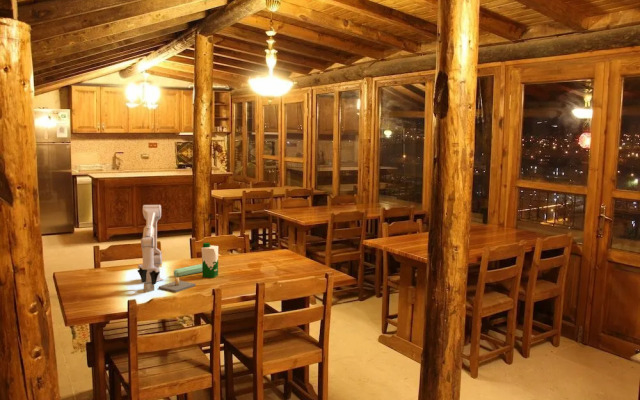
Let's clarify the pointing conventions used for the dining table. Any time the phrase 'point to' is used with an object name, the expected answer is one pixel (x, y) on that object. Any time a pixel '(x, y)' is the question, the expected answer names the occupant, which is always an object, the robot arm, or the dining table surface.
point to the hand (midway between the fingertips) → (148, 283)
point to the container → (188, 270)
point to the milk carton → (209, 260)
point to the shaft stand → (177, 286)
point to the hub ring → (148, 286)
